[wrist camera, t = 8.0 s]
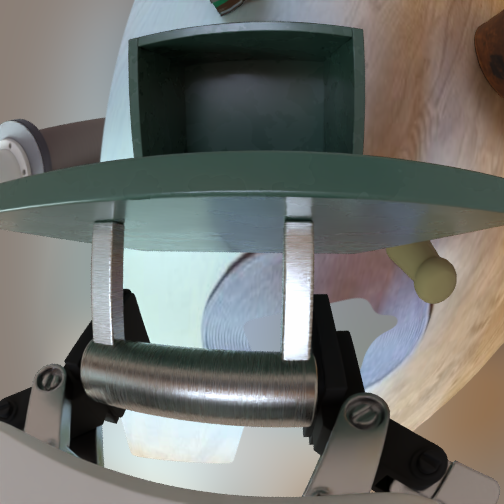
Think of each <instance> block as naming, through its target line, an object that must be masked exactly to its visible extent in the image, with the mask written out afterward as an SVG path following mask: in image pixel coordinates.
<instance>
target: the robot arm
mask: <svg viewBox="0 0 504 504" xmlns="http://www.w3.org/2000/svg"><path fill="white" fill-rule="evenodd" d="M30 175H31V168H30V164H29V160H28V157H27V155H26V153H25V151H24V149H23V148H22V146H21V145H20V144H19V143H18V142H17V141H15V140H13V139H9V138H7V139H3V140H1V141H0V183H2V182H6V181H10V180H14V179H18V178H22V177H26V176H30ZM123 318H124V339H125V340H129V341H136V342H144V343H150V341H149V338H148V335H147V332H146V329H145V326H144V323H143V320H142V317H141V314H140V310H139V307H138V304H137V300H136V297H135V295H134V294H133V293H131V291H130V290H129V289H123ZM91 340H93V326H92V320H91V322H90V323H89V325H88V326H87V328H86V329H85V331H84V332H83V333H82V335H81V336H80V338H79V340H78V341H77V343H76V344H75V345H74V347H73V348H72V350H71V352H70V353H69V355H68V356H67V358H66V359H65V363H66V364H65V366H64V367H62V366H61V365H58V364H50V365H46V366H44V367H43V368H41V369H40V370H39V371H38V372H37V374H36V375H35V377H34V381H33V385H32V387H30V388H28V389H26V390H23V391H21V392H18V393H16V394H14V395H11V396H8V397H6V398H4V399H2V400H1V401H0V504H496V503H497V501H498V498H499V495H500V487H499V484H498V483H497V481H495V480H494V479H493V478H491V477H489V476H486V475H484V474H482V473H480V472H478V471H476V470H474V469H472V468H470V467H468V466H466V465H464V464H462V463H460V462H458V461H454V462H451V461H449V460H448V459H447V455H446V453H445V452H444V451H443V449H442V448H440V447H439V446H438V445H436V444H434V443H432V442H430V441H428V440H426V439H425V438H423V437H421V436H419V435H418V434H415V433H414V432H412V431H411V430H409V429H407V428H405V427H404V426H402V425H400V424H398V423H397V422H395V421H393V420H392V419H390V410H389V407H388V405H387V403H386V402H385V401H384V400H383V399H382V398H380V397H379V396H378V395H375V394H372V393H365V391H364V386H363V382H362V378H361V374H360V369H359V365H358V361H357V358H356V354H355V349H354V346H353V342H352V338H351V335H350V332H349V331H336V329H335V324H334V320H333V315H332V311H331V307H330V302H329V298H328V295H327V294H313V319H312V340H311V352H312V353H313V354H314V356H315V358H316V362H317V369H318V404H317V411H316V416H315V420H314V422H313V424H312V425H311V426H309V427H303V436H304V437H309V443H310V445H314V451H316V452H317V453H318V454H320V458H319V460H318V463H317V465H316V467H315V470H314V472H313V474H312V476H311V478H310V480H309V482H308V485H307V487H306V489H305V491H304V493H303V495H302V497H254V496H238V495H227V494H217V493H210V492H203V491H196V490H190V489H184V488H179V487H174V486H169V485H164V484H160V483H155V482H151V481H147V480H144V479H140V478H136V477H133V476H129V475H126V474H122V473H119V472H116V471H113V470H110V469H107V468H104V457H103V437H102V436H103V435H102V425H103V422H104V420H105V421H108V422H112V423H116V424H117V421H118V419H119V417H122V416H123V415H124V413H125V410H126V409H123V408H119V407H115V406H111V405H107V404H103V403H99V402H96V401H93V400H92V399H91V398H90V397H88V395H87V394H86V393H85V391H84V389H83V386H82V382H81V376H80V367H81V360H82V356H83V353H84V351H85V348H86V347H87V345H88V344H89V342H90V341H91ZM371 489H372V490H373V491H375V493H370V491H371Z"/></svg>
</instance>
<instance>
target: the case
mask: <svg viewBox="0 0 504 504" xmlns="http://www.w3.org/2000/svg"><path fill="white" fill-rule="evenodd" d="M475 48H476V53H477V57H478V61H479V64H480V66H481V69H482V71H483V73H484V75H485V76H486V78H487V80H488V81H489V83H490V84H491V86H492V87H493V88H494V90H495V91H496V92H497V93H498V94H499V95H500V96H501V97H502V98H504V10H503V11H501V12H500V13H498V14H497V15H496V16H494V17H493V18H491V19H490V20H489V21H487V22H486V23H484V24H482V25H481V26H480V27H479V28H478V29H477V31H476V34H475Z"/></svg>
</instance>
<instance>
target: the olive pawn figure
mask: <svg viewBox="0 0 504 504" xmlns="http://www.w3.org/2000/svg"><path fill="white" fill-rule="evenodd" d="M386 251H387V254H388V256H389V257H390V259H391V260H392V261H393V262H394V263H396V264H397V265H398V266H399V267H400V268H401V269H402V270H403V271H404V272H405V273H406V274H407V275H408V276H409V277H410V278H411V279H412V280H413V281H414V287H415V290H416V292H417V294H418V296H419V298H421V299H422V300H423V301H425V302H427V303H431V304H436V303H440V302H442V301H444V300H445V299H447V298H448V297H449V296H450V295H451V293H452V292H453V290H454V289H455V286H456V272H455V269H454V267H453V265H452V264H451V263H450V262H449V261H448V260H446V259H444V258H441V257H440V256H439V255H438V253H437V252H436V250H435V248H434V247H433V245H432V244H431V242H430V241H429V240H427V241H422V242H416V243H411V244H406V245H400V246H395V247H389V248H386Z"/></svg>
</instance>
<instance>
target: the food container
mask: <svg viewBox="0 0 504 504" xmlns="http://www.w3.org/2000/svg"><path fill="white" fill-rule="evenodd" d="M244 1H245V0H210V2H211V3H213V5H214V6H215V8H216V9H217V11H218V12H219V14H220V16H223V15H225V14H228V13H230V12H232V11H233V10H235V9H236V8H237V7H239V6H240V5H241V4H242V3H243V2H244Z"/></svg>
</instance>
